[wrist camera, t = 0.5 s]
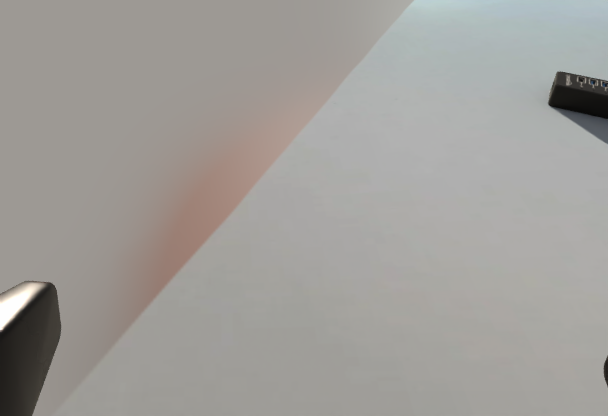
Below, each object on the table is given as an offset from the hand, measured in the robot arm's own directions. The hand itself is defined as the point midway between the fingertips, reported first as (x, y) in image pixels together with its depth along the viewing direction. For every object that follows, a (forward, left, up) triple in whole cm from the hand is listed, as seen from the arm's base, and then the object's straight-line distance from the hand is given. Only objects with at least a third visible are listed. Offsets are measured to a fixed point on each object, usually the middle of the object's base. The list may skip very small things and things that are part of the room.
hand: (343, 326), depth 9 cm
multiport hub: (+42, -38, -18) cm, 59 cm away
